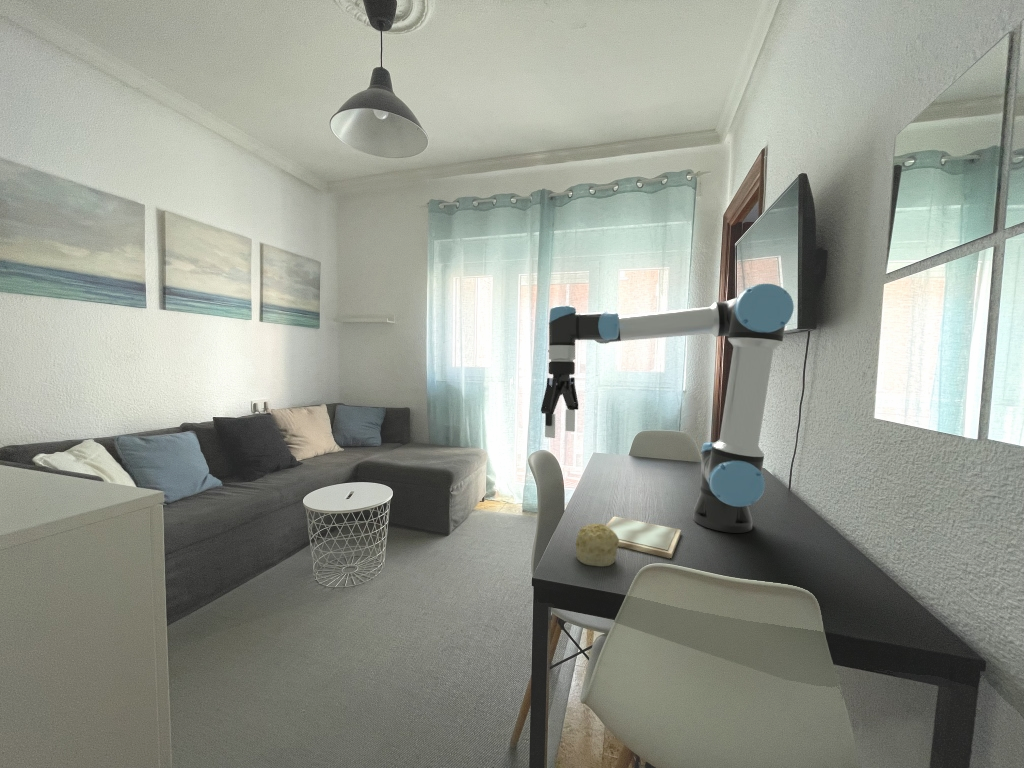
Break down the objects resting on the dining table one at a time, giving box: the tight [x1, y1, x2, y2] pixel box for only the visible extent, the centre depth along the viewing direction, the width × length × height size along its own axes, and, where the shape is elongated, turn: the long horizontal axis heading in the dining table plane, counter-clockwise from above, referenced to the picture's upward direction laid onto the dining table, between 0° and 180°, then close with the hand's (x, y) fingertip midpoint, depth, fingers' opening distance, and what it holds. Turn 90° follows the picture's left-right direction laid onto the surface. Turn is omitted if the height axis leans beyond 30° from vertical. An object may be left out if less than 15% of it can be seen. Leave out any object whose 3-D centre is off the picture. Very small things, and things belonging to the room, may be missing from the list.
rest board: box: [605, 516, 682, 559], centre depth 104 cm, size 18×16×1 cm
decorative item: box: [575, 522, 619, 567], centre depth 92 cm, size 10×10×10 cm
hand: (560, 434), depth 116 cm, fingers open, 13 cm apart
